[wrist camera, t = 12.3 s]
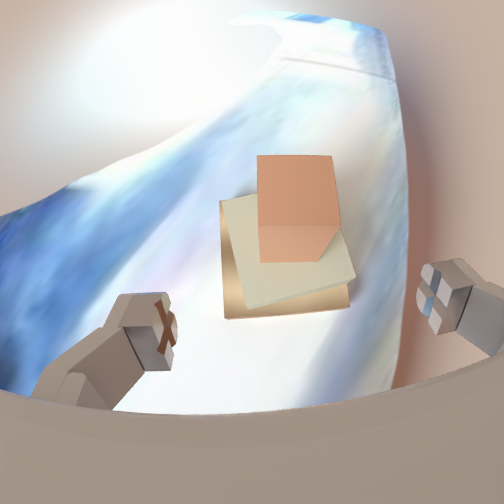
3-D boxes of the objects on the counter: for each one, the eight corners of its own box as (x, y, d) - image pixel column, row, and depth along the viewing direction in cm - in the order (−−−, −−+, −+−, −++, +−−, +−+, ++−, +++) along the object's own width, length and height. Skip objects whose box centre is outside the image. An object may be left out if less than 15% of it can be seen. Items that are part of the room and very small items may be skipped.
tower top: (346, 283, 26) (356, 277, 23) (248, 310, 26) (246, 306, 23) (317, 194, 29) (322, 179, 26) (225, 215, 28) (221, 201, 25)
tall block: (317, 261, 24) (340, 225, 16) (260, 262, 24) (257, 226, 16) (313, 209, 25) (331, 155, 17) (259, 209, 25) (256, 155, 17)
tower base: (341, 309, 28) (350, 306, 26) (228, 320, 29) (224, 317, 26) (327, 205, 31) (332, 192, 29) (223, 213, 32) (219, 200, 29)
